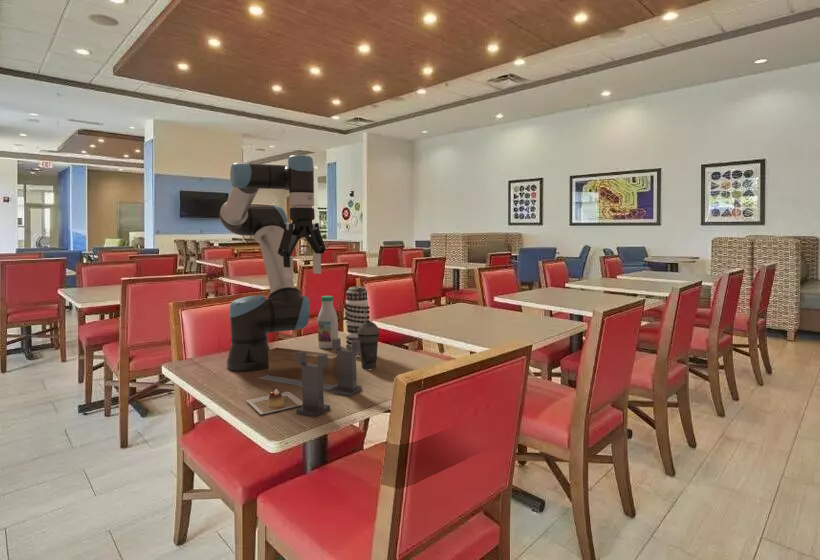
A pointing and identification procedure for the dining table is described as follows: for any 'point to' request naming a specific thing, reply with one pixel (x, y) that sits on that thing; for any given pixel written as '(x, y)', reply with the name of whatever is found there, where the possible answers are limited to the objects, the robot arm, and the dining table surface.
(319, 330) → the milk bottle
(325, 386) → the mat
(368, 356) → the beverage cup
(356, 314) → the decorative candle
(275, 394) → the dessert
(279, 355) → the rail
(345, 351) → the standards
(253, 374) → the dining table surface
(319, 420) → the dining table surface
